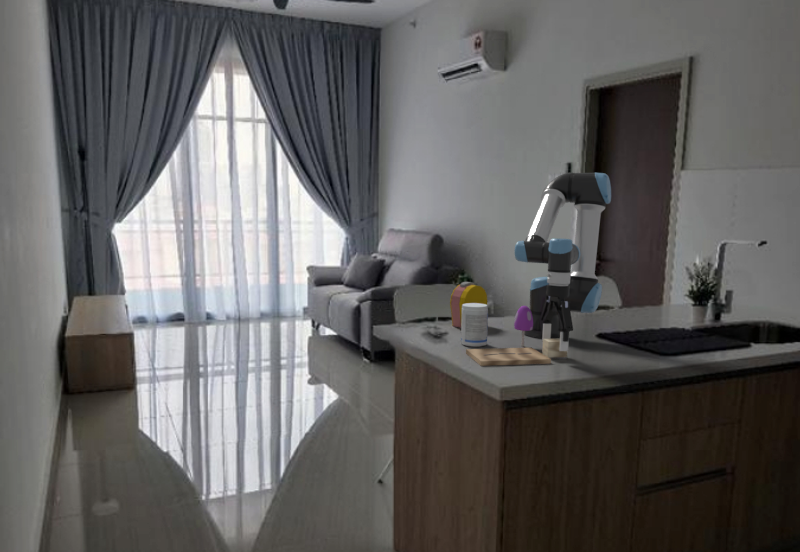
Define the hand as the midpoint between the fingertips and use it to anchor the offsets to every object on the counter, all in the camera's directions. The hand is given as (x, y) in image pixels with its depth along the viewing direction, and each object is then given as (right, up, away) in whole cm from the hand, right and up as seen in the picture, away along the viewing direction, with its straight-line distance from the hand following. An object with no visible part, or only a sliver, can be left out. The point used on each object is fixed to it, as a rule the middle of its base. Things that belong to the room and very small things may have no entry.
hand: (554, 346), depth 215 cm
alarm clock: (-24, +3, +51) cm, 56 cm away
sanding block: (0, -4, +1) cm, 4 cm away
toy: (-8, -2, +15) cm, 17 cm away
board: (-16, -4, -2) cm, 17 cm away
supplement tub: (-26, -1, +17) cm, 31 cm away
